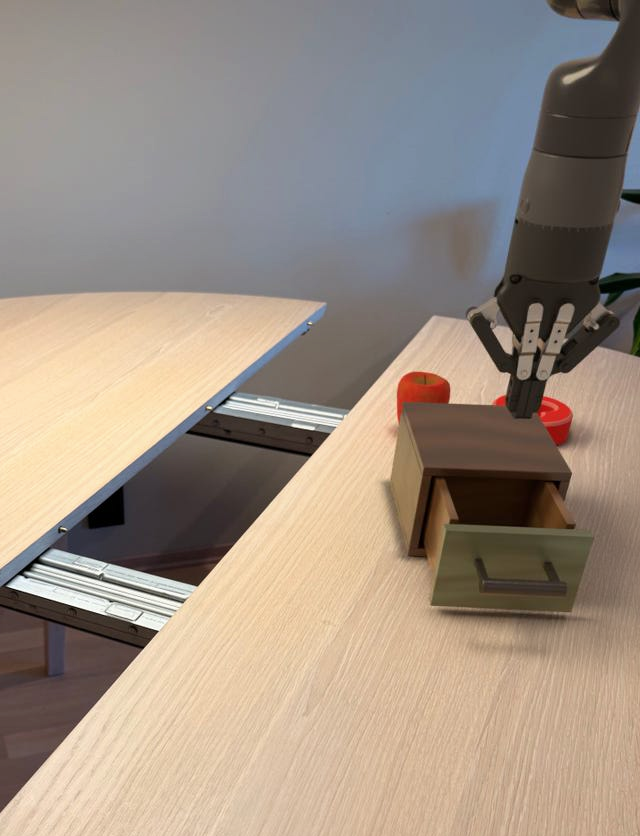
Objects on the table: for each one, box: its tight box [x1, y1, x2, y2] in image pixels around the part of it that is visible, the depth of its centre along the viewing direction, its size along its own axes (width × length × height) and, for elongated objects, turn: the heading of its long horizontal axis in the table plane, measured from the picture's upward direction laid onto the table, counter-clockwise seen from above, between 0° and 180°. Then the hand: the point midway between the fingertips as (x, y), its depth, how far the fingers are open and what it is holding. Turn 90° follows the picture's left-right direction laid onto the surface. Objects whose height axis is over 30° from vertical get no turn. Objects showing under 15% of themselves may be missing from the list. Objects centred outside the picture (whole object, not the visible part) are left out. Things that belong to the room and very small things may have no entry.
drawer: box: [421, 476, 595, 613], centre depth 91 cm, size 19×13×8 cm, turn 176°
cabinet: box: [389, 402, 573, 557], centre depth 102 cm, size 16×14×10 cm
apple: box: [396, 371, 451, 424], centre depth 120 cm, size 6×6×8 cm
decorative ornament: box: [491, 394, 574, 446], centre depth 122 cm, size 10×10×3 cm
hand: (519, 415), depth 89 cm, fingers closed
